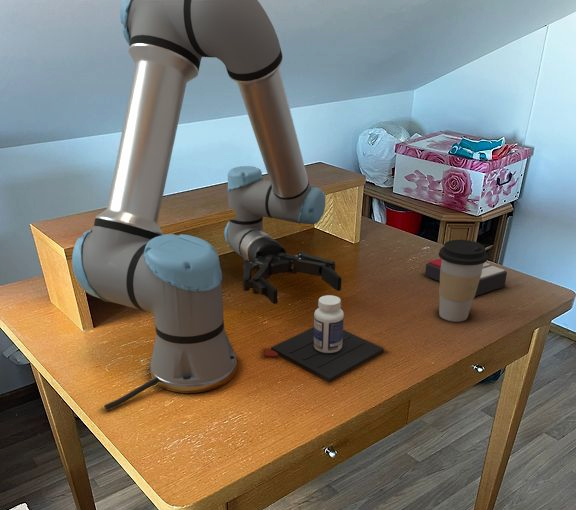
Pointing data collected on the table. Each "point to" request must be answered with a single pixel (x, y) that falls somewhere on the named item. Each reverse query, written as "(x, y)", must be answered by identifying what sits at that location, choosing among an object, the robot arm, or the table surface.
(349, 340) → the plate
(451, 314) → the coffee cup
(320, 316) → the pill bottle
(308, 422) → the table surface
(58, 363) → the table surface
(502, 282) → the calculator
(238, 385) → the table surface
